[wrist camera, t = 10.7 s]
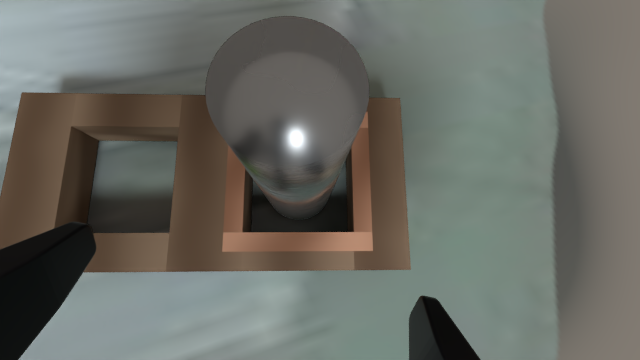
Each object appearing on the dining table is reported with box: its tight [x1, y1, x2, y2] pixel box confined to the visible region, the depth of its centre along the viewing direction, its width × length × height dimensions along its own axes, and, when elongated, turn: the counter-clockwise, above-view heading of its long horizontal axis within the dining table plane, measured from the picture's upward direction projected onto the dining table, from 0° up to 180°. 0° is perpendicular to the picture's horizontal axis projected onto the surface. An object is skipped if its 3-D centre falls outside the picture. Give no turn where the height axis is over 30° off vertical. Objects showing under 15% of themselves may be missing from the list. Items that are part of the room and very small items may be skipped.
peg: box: [205, 16, 369, 220], centre depth 14 cm, size 4×4×13 cm
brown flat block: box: [0, 93, 411, 272], centre depth 19 cm, size 22×10×3 cm, turn 90°
